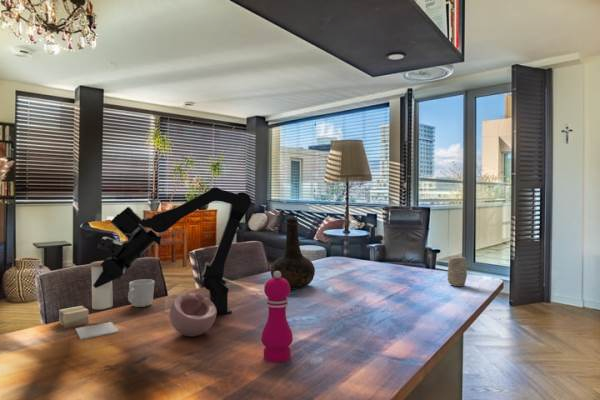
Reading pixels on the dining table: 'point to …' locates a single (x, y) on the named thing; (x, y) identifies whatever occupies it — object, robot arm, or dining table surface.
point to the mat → (96, 330)
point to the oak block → (73, 316)
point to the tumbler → (100, 289)
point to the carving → (457, 270)
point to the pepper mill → (277, 320)
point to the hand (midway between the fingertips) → (97, 284)
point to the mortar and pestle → (192, 314)
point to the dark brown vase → (294, 260)
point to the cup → (141, 292)
